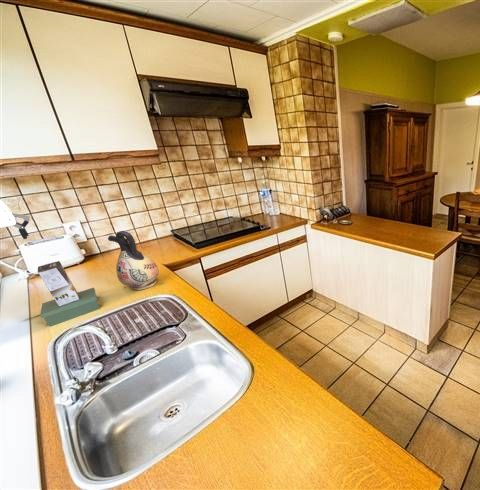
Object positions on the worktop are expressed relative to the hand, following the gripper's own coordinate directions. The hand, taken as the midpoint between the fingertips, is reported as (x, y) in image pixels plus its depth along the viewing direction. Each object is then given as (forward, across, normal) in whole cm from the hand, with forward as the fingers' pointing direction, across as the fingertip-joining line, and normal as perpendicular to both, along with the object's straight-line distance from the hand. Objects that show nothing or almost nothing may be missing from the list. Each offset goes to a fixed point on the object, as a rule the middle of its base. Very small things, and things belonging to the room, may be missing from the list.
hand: (6, 241), depth 102 cm
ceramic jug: (+33, +33, -4) cm, 47 cm away
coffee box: (+28, +8, -6) cm, 29 cm away
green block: (+34, +8, -7) cm, 35 cm away
